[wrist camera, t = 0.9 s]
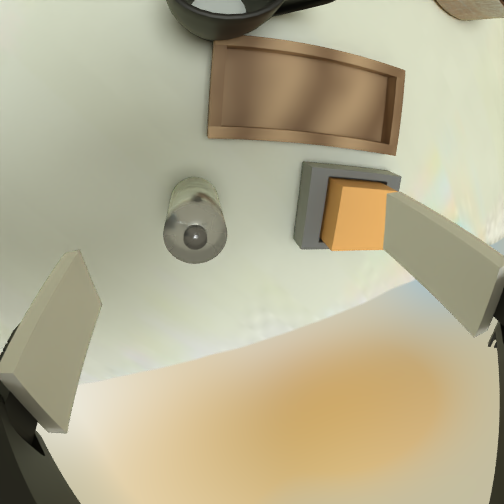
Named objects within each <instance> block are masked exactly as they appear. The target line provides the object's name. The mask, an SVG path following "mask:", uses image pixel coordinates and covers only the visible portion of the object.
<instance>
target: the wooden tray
mask: <svg viewBox="0 0 504 504" xmlns="http://www.w3.org/2000/svg"><path fill="white" fill-rule="evenodd" d="M404 82H405V70H402V69H400V68H397V67H394V66H391V65H388V64H385V63H382V62H378V61H375V60H372V59H368V58H365V57H361V56H358V55H354V54H350V53H346V52H342V51H338V50H334V49H329V48H325V47H320V46H315V45H310V44H305V43H299V42H293V41H287V40H280V39H273V38H265V37H256V36H246V35H242V36H240V37H236V38H232V39H229V40H214V41H213V51H212V64H211V77H210V93H209V110H208V129H207V137H208V138H217V139H248V140H267V141H281V142H294V143H305V144H315V145H324V146H333V147H341V148H349V149H356V150H363V151H369V152H376V153H382V154H388V155H393V156H396V150H397V144H398V137H399V129H400V121H401V113H402V104H403V93H404Z"/></svg>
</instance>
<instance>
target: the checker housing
mask: <svg viewBox="0 0 504 504" xmlns="http://www.w3.org/2000/svg"><path fill="white" fill-rule="evenodd" d="M329 177H331V178H344V179H355V180H365V181H375V182H381V183H383V184H385V185H387V186H389V187H391V188H392V189H394V190H396V191H398V192H399V187H400V182H401V176H399V175H396V174H394V173H392V172H390V171H386V170H379V169H371V168H363V167H354V166H345V165H336V164H325V163H313V162H303V165H302V174H301V182H300V191H299V199H298V207H297V215H296V223H295V230H294V238H293V239H294V240H295V242H296V243H297V244H298V246H299V247H300V249H329V248H328V246H327V245H326V244H325V243H324V242H323V241H322V240H321V238H320V237H319V236H320V230H321V224H322V218H323V212H324V206H325V199H326V192H327V185H328V178H329Z"/></svg>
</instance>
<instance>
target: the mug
mask: <svg viewBox="0 0 504 504" xmlns="http://www.w3.org/2000/svg"><path fill="white" fill-rule="evenodd" d="M166 1H167V3H168V6H169V8H170V10H171V12H172V14H173V15H174V16H175V18H176V19H177V20H178V22H179V23H180V24H181V25H182V26H184V27H185V28H186V29H187V30H188V31H190V32H191V33H193V34H195V35H196V36H198V37H200V38H202V39H205V40H209V41H214V40H229V39H232V38H236V37H240V36H242V35H244V34H246V33H249V32H251V31H253V30H255V29H256V28H258V27H259V26H260V25H262V24H263V23H264V22H266V21H267V20H268V19H270V18H271V17H273V16H277V15H282V14H286V13H291V12H295V11H299V10H303V9H308V8H312V7H316V6H320V5H324V4H328V3H331V2H333V1H335V0H241V1H242V2H243V3H244V5H245V8H246V13H243V14H220V13H212V12H209V11H205V10H201V9H199V8H197V7H195V6H193V5H191V4H192V3H193V1H194V0H166Z"/></svg>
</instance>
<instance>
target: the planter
mask: <svg viewBox="0 0 504 504" xmlns="http://www.w3.org/2000/svg"><path fill="white" fill-rule="evenodd" d="M436 1H437V2H438V3H439V4H440V5H441V7H442V8H444V9H445V10H446V11H447V12H448V13H449V14H451V15H452V16H454V17H456V18H458V19H461V20H479V19H491V18H504V0H436Z"/></svg>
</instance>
